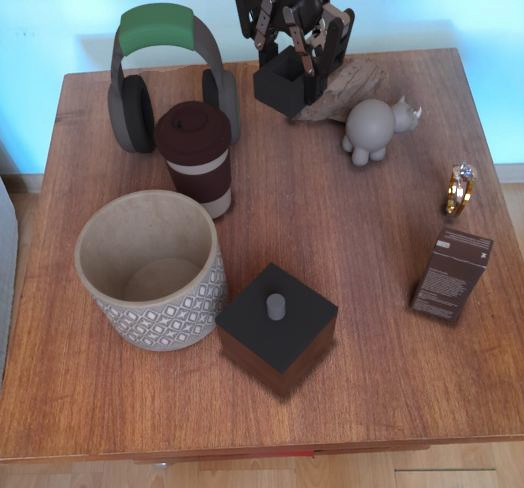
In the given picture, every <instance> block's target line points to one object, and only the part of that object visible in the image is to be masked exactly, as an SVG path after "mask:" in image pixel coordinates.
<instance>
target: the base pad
mask: <svg viewBox="0 0 524 488" xmlns="http://www.w3.org/2000/svg"><path fill="white" fill-rule="evenodd" d="M337 313H338V314H339V306H337V305H336V304H335V303H334V302H332V301H330V300H329V299H327V298H325V297H324V296H323V295H322V294H320V293H318V292H317V291H316V290H314V289H313V288H311V287H309V286H308V285H307V284H305V283H304V282H303V281H301V280H299V279H298V278H296V277H295V276H294V275H292V274H291V273H289V272H287V271H286V270H284V269H283V268H282V267H280V266H279V265H277V264H276V263H275V262H273V261H270V262H269V263H268V264H267V265H266V266H265V267H264V268H263V269H262V270H261V271H260V272H259V273H258V274H257V275H256V276H255V277H254V278H252V280H251V281H250V282H249V283H248V284H247V285H246V286H245V287H244V288H243V289H242V290H241V291H240V292H239V293H238V294H237V295H236V296H235V297H234V298H233V299H232V300H231V301H230V302H229V303H227V306H226V307H225V308H224V309H223V310H222V311H221V312H220V313H219V314H218V315H217V316H216V317H215V322H216V324H217V325H219V326H220V327H221V328H222V329H224V330H225V331H226V332H228V333H229V334H230V335H232V336H233V337H234V338H235V339H237V340H238V341H239V342H241V343H242V344H243V345H245V346H246V347H247V348H249V349H250V350H251V351H252V352H254V353H255V354H256V355H258V356H259V357H260V358H262V359H263V360H264V361H266V362H267V363H268V364H269V365H271V366H272V367H273V368H275V369H276V370H277V371H279V372H280V373H281V374H283V373H284V372H285V371H286V370H287V369H288V368H289V366H290V365H291V364H292V363H293V362H294V361H295V360H296V359H297V357H298V356H299V355H300V354H301V353H302V352H303V351H304V350H305V349H306V347H307V346H308V345H309V344H310V343H311V342H312V341H313V340H314V338H315V337H316V336H317V335H318V334H319V333H320V332H321V331H322V329H323V328H324V327H325V326H326V325H327V324H328V323H329V322H330V321H331V319H332V318H333V317H334V316H335V315H336V314H337ZM338 314H337V315H338Z"/></svg>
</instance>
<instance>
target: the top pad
mask: <svg viewBox="0 0 524 488" xmlns="http://www.w3.org/2000/svg"><path fill="white" fill-rule="evenodd" d="M313 58H314V59H315V58H316V56H314V55H313ZM305 73H306V72H305V69H304V65H303V62H302V58H301V55H298V54H297V53H296V51H295V47H294V45H291V44H289V45H288V46H287V47H285V48H284V49H282V50H281V51H280V52H278V55H277V56H276V57H274V58H273V59H272V60H270V61H269V62H268V63H267V64H265V65H264V66H262V67H261V68H260V69H259V68H258V69H257V70H256V71H255V72H254V73H252V83H253V85H252V86H253V95H254V96H253V97H254V99H255V100H256V101H258V102H260V103H263V104H264V105H265V106H267V107H268V108H271V109H273V110H274V111H276V112H279V113H280V114H281V115H283V116H285V117H287V118H288V119H289V120H290V119H292V118H293V117H294V116H296V115H297V114H298V113H299V112H300V111H301V110H303V109H304V108H305V107H306V106H307V105H306V104H304V74H305ZM327 82H328V77H327V78H326V79H325V81H324V91H325V90H326V89H327Z"/></svg>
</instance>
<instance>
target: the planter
mask: <svg viewBox="0 0 524 488" xmlns="http://www.w3.org/2000/svg"><path fill="white" fill-rule="evenodd" d="M73 258H74V267H75V270H76V273H77V276H78V278H79V279H80V281H81V282H82V284H83V286H84V288H85V289H86V290H87V291H88V293H89V295H91V298H92V299H93V300H94V302H95V303H96V304H97V306H98V307H99V308H100V310H101V311H102V313H103V314H104V316H105V317H106V318H107V320H108V321H109V323H110V324H111V326H112V327H113V329H114V330H115V331H116V332H117V334H118V335H119V336H120V337H121V338H122V339H123V340H125V341H126V342H128V343H129V344H130V345H133V346H135V347H137V348H139V349H142V350H145V351H146V350H147V351H151V352H152V351H153V352H170V351H176V350H180V349H185V348H187V347H190V346H192V345H194V344H196V343H198V342H200V341H201V340H203V339H204V338H206V336H208V335H209V334H210V333H211V332H213V330H214V329H215V328H217V326H216V322H215V317H216V316H217V315H218V314H219V313H220V312H221V311H222V310H223V309H224V308H225V307H226V306H227V305H228V302H229V284H228V279H227V274H226V270H225V266H224V261H223V255H222V250H221V246H220V241H219V237H218V232H217V229H216V224H215V222H214V220H213V219H212V218H211V216H210V215H209V213H208V212H207V211H206V210H205V208H204V207H202V206H201V205H200V204H199V203H198V202H196V201H195V200H193V199H192V198H190V197H188V196H185V195H183V194H181V193H178V192H177V191H172V190H168V189H167V190H166V189H145V190H138V191H135V192H130V193H127V194H124V195H121V196H119V197H117V198H115V199H113V200H111V201H109V202H108V203H106V204H105V205H103V206H102V207H100V208H99V209H98V210H96V212H94V213H93V214H92V216H91V217H90V218H89V219H88V220H87V221H86V223H85V224H84V226H83V227H82V228H81V230H80V232H79V235H78V236H77V239H76V243H75V246H74V257H73Z"/></svg>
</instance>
